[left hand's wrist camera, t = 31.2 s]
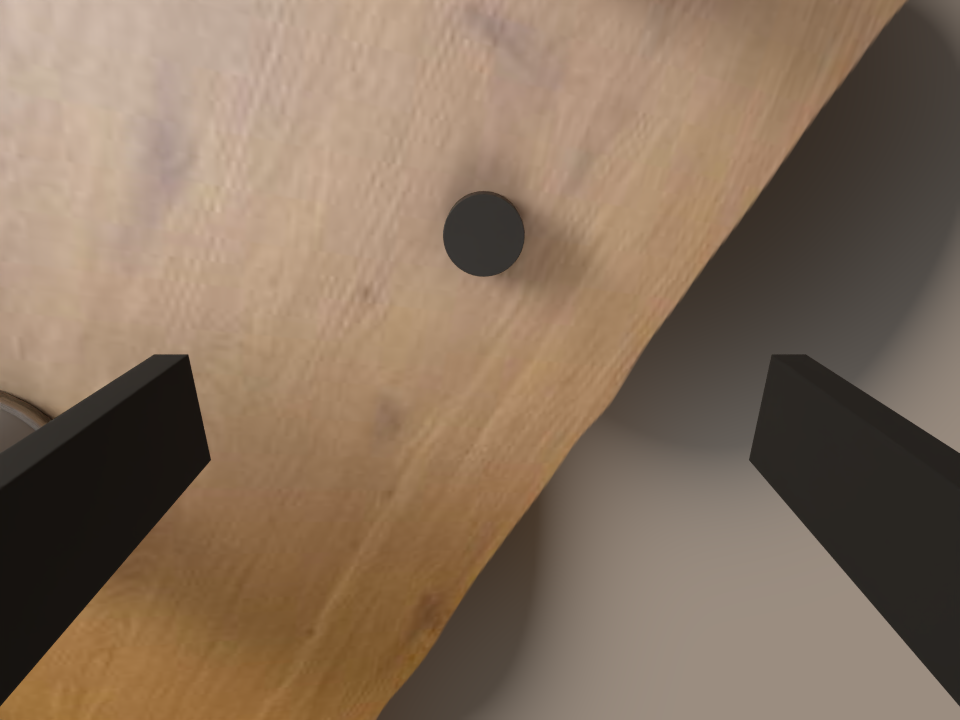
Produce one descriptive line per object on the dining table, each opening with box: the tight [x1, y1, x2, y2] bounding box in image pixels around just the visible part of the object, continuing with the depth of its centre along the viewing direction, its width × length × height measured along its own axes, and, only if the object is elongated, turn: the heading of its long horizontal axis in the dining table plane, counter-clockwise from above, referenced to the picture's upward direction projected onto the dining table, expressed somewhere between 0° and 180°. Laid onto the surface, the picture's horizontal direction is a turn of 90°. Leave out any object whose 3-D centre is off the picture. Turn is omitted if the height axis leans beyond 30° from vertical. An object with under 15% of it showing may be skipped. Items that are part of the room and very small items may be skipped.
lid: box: [443, 191, 524, 277], centre depth 37 cm, size 5×5×2 cm
